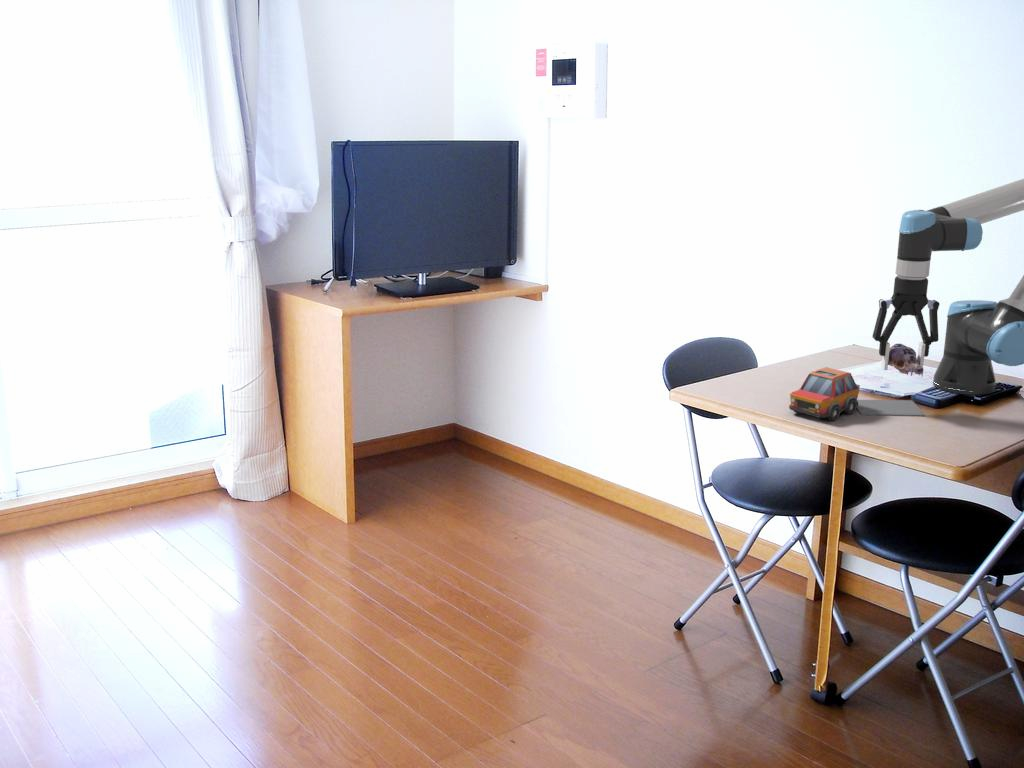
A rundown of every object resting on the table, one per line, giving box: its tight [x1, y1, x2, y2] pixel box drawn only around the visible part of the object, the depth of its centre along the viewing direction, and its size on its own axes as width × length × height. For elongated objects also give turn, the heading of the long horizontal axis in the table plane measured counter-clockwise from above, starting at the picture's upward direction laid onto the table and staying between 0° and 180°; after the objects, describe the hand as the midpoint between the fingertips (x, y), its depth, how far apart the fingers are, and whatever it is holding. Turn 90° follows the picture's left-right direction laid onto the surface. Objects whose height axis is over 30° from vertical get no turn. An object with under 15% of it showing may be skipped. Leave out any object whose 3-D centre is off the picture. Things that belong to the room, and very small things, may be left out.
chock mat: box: [856, 399, 926, 417], centre depth 260 cm, size 15×12×1 cm
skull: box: [888, 343, 924, 378], centre depth 253 cm, size 12×8×6 cm, turn 2°
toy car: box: [788, 366, 861, 422], centre depth 256 cm, size 12×17×10 cm
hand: (901, 368), depth 256 cm, fingers closed on skull, 8 cm apart
